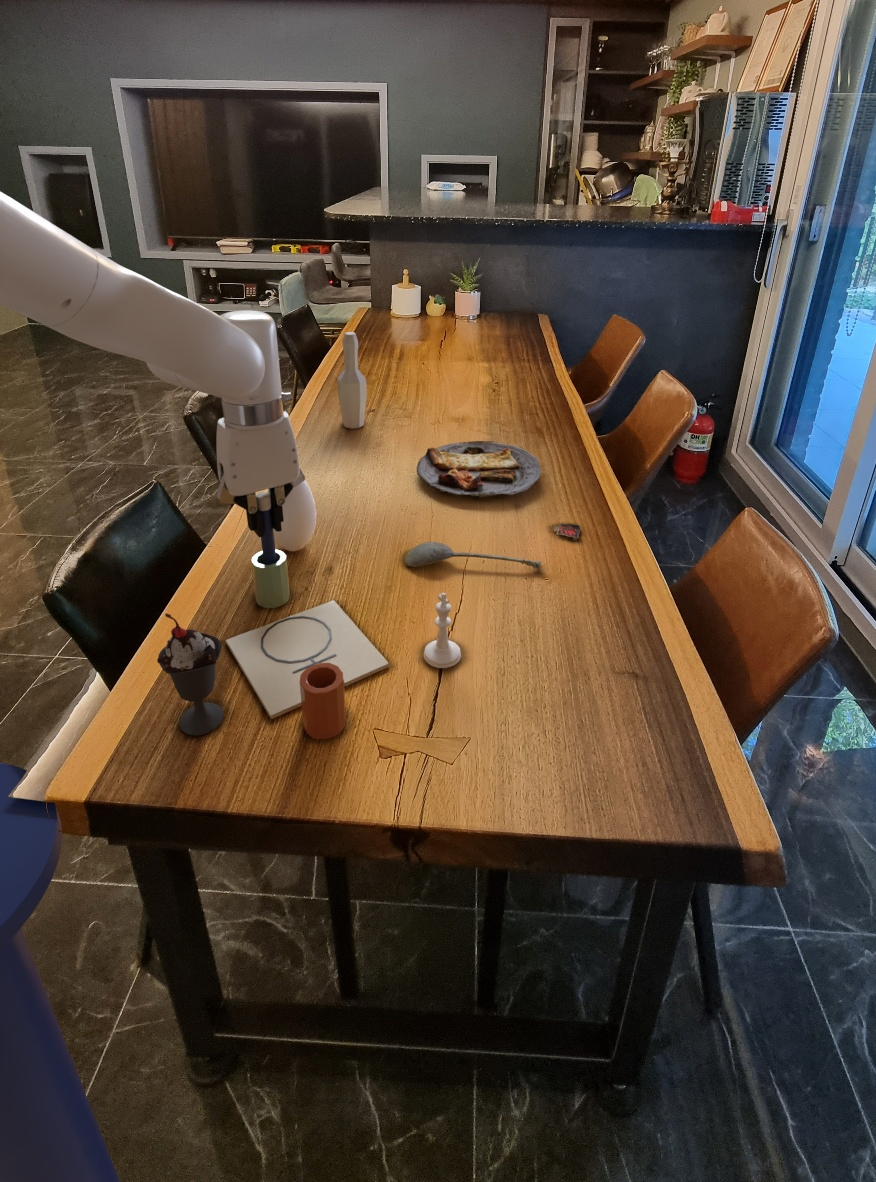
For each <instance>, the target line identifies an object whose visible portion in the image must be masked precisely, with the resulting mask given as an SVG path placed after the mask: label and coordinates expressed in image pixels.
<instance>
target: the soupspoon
mask: <svg viewBox="0 0 876 1182" xmlns="http://www.w3.org/2000/svg"><path fill="white" fill-rule="evenodd" d="M455 557H456V558H479V559H489V560H490V559H491V560H499V561H507V562H514V563H520V564H521V565H526V566H527V567H532V568H533V569H536V571H537V572H539V571H540V569H541V566H542V560H539V561H537V560H534V561H533V560H530V559H527V560H526V559H525V558H522V559H521V558H517V557H509V556H504V555H503V556H502V555H494V554H484V553H476V552H475V553H474V552H458V551H457V552H454V550H452V548H451V547H450V546H448V545H447V544H445V543H442V542H438V541H426V542H423V543H420V544H418V545H416V546H414V547H413V548H412V549H410V550H409V551H408V552H407V554H406V555H405V557H404V563H405V565H406V566H408V567H421V566H426V565H430V564H436V563H439V562H442V561H445V560H447V559H450V558H455Z"/></svg>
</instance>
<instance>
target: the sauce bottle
mask: <svg viewBox="0 0 876 1182" xmlns="http://www.w3.org/2000/svg"><path fill="white" fill-rule="evenodd" d="M267 493H269V489H267ZM282 508H283V519H284V521H283V522H281V528H282V531H279V532H277V531H275V530H274V528H273V531H274V541H275V545H277V546H278V547H280V548H282V549H284V550H286V551H288V552H296V551H299V550H301V549H303V548H304V547H305V546H306V545H308V543H309V542H310V541H311V539H312V538H313V535H314V533H315V529H316V527H317V526H316V525H317V507H316V502H315V498H314V495H313V492H312V490H311V488H310V486H309V483H308V482H307V480H306V479H305V480H304V481H303V482H302V483H300V484H299V485H297V486H296V487H293V489H292V490H291V492H290V493H289V494H288V496H287V497H286V498H285V503H284V504H283V505H282Z"/></svg>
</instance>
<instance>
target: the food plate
mask: <svg viewBox="0 0 876 1182" xmlns="http://www.w3.org/2000/svg"><path fill="white" fill-rule="evenodd" d="M416 473H417V476H418V477H419V478H420V479H421V480H423V481H424V482H425V483H426V484H427V486H428V487H431V488H432V489H435V490H436V491H435V492H437V491H440V492H441V493H443V492H448V494H449V495H452V496H453V495H455V496H456V495H460V496H464V495H465V496H471V497H478V496H479V498H480V499H481V498H485V497H490V496H497V495H508V496H511V495H512V496H513V495H517V494H520V493H522V492H526V491H527V490H529V489H530V488H531V487H533V485H534V483H536V482H537V481H538V480H539V479H540V477H541V473H542V467H541V464H540V462H539V458H537V457H536V456H534V455H533V454H531V452H529V451H528V450H526V449H524V448H521V447H519V446H516V445H513V444H507V443H502V442H496V441H493V440H475V441H474V440H473V441H472V440H471V441H460V442H451V443H448V444H443V445H439V447H437V448H436V447H430V448H427V450H426V453H425V455H423V456H421V457H420V458H419V461H418V462H417V466H416Z"/></svg>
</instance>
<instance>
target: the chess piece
mask: <svg viewBox="0 0 876 1182" xmlns="http://www.w3.org/2000/svg"><path fill="white" fill-rule="evenodd" d="M437 596H438V599H439V600H440V601H439V602H437V603H436V604H435V610H436V613H437V617H436V618H435V619H434V624H435V625H436V626H437V627H438V631H437V637H436V639H435V640H432V641H430V642H428V644H426V646H425V648H424V652H423V658H424V661H425V662H426V663H427V664H428V665H430V666H432V667H434V668H437V669H448V668H451V667H453V666H455V665H457V664H458V663H459V662H460V661H461V658H462V654H461V648H460V647H459V645H458V644H457V643H456V642H454V641H452V640H450V639H449V635H448V627H449V626H451V624H452V620H451V618H450V617H449V615H450V612H451V610H452V606H451V604H450V600H449V599H448V598H447V593H446V592H442V593H440V594H438V595H437Z"/></svg>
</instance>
